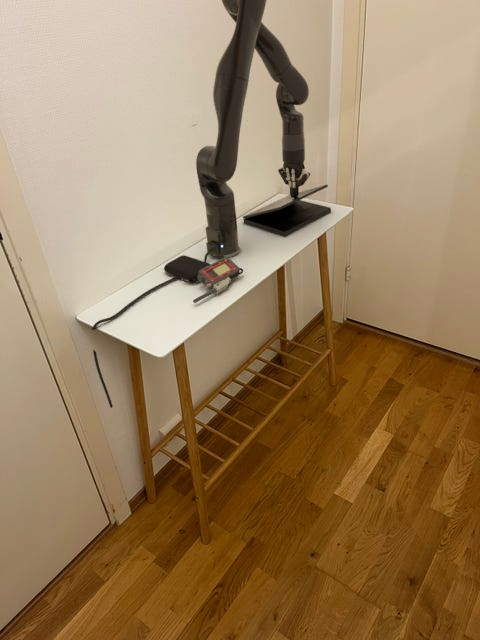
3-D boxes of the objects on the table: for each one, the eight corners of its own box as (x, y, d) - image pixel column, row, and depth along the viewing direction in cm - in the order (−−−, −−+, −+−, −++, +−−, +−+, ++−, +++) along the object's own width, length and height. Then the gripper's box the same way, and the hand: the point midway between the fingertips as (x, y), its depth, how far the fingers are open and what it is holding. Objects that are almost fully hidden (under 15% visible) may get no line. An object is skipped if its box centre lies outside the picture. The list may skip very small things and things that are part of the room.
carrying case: (159, 274, 139) (193, 287, 130) (157, 266, 137) (191, 278, 129) (184, 260, 145) (217, 272, 137) (182, 252, 143) (216, 263, 135)
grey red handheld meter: (249, 272, 131) (196, 301, 120) (246, 282, 134) (194, 311, 123) (229, 253, 133) (176, 280, 123) (226, 263, 137) (174, 290, 126)
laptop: (330, 212, 167) (330, 207, 166) (284, 236, 153) (284, 231, 152) (289, 201, 180) (289, 197, 179) (243, 223, 166) (243, 218, 165)
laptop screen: (328, 186, 163) (327, 184, 163) (280, 209, 149) (279, 207, 149) (289, 197, 179) (288, 195, 178) (243, 218, 165) (242, 216, 164)
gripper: (271, 147, 152) (273, 196, 162) (301, 152, 143) (302, 204, 153) (285, 141, 156) (287, 190, 166) (316, 146, 148) (315, 197, 157)
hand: (294, 197), depth 160 cm, fingers closed
